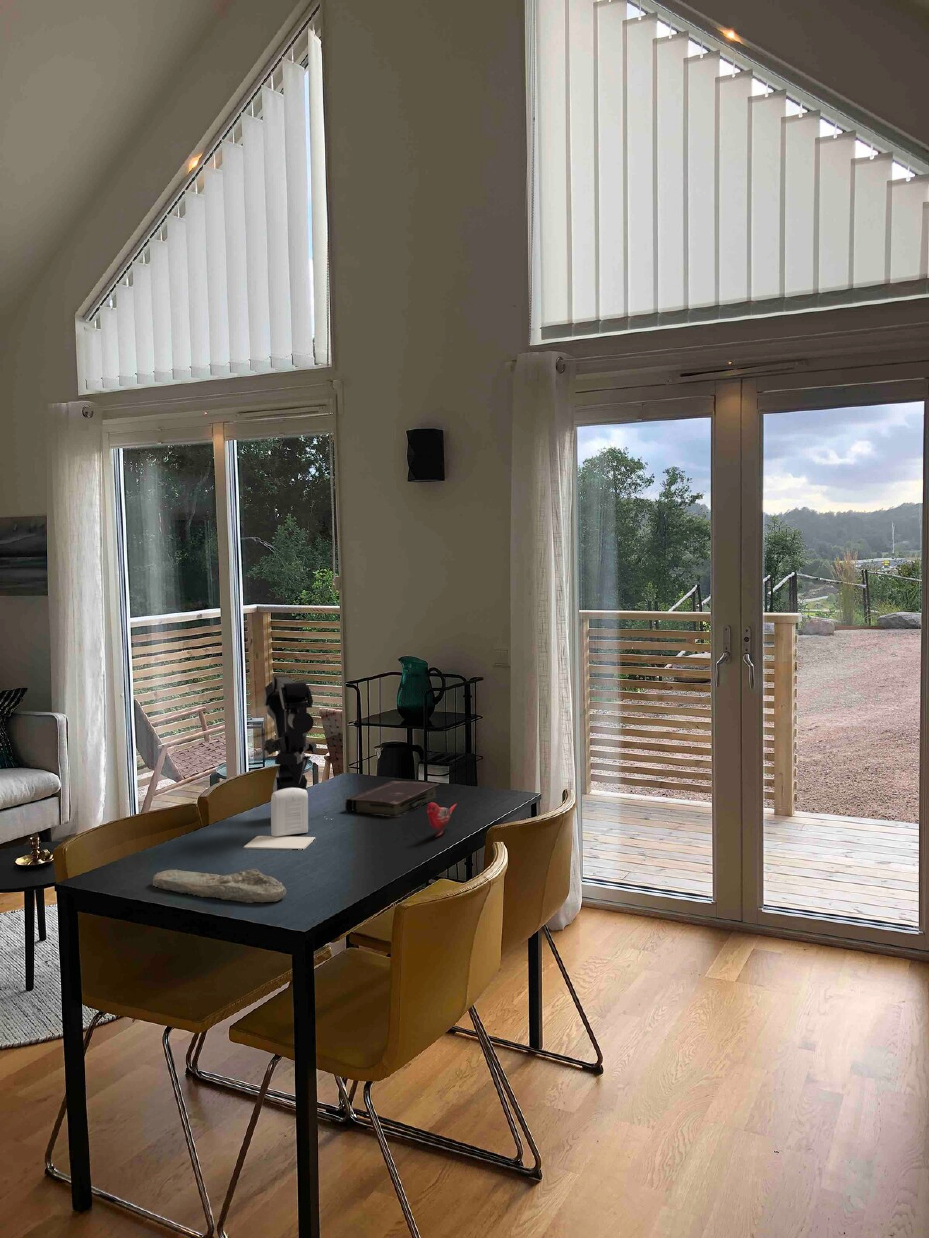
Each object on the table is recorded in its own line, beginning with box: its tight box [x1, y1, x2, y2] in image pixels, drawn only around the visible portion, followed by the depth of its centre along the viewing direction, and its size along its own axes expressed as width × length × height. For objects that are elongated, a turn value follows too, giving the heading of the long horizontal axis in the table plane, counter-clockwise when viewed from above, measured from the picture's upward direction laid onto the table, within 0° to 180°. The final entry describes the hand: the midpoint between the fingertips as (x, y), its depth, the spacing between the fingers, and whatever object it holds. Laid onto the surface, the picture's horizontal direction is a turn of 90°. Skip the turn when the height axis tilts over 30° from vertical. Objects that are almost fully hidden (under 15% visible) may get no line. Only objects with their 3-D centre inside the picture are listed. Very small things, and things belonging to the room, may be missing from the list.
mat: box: [243, 835, 316, 851], centre depth 263 cm, size 10×16×1 cm, turn 81°
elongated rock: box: [152, 868, 287, 904], centre depth 226 cm, size 35×5×10 cm
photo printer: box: [270, 788, 309, 837], centre depth 270 cm, size 10×4×12 cm, turn 123°
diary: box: [344, 780, 440, 818], centre depth 301 cm, size 19×25×5 cm
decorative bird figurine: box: [426, 801, 458, 838], centre depth 268 cm, size 3×18×10 cm, turn 155°
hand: (297, 783), depth 277 cm, fingers closed
